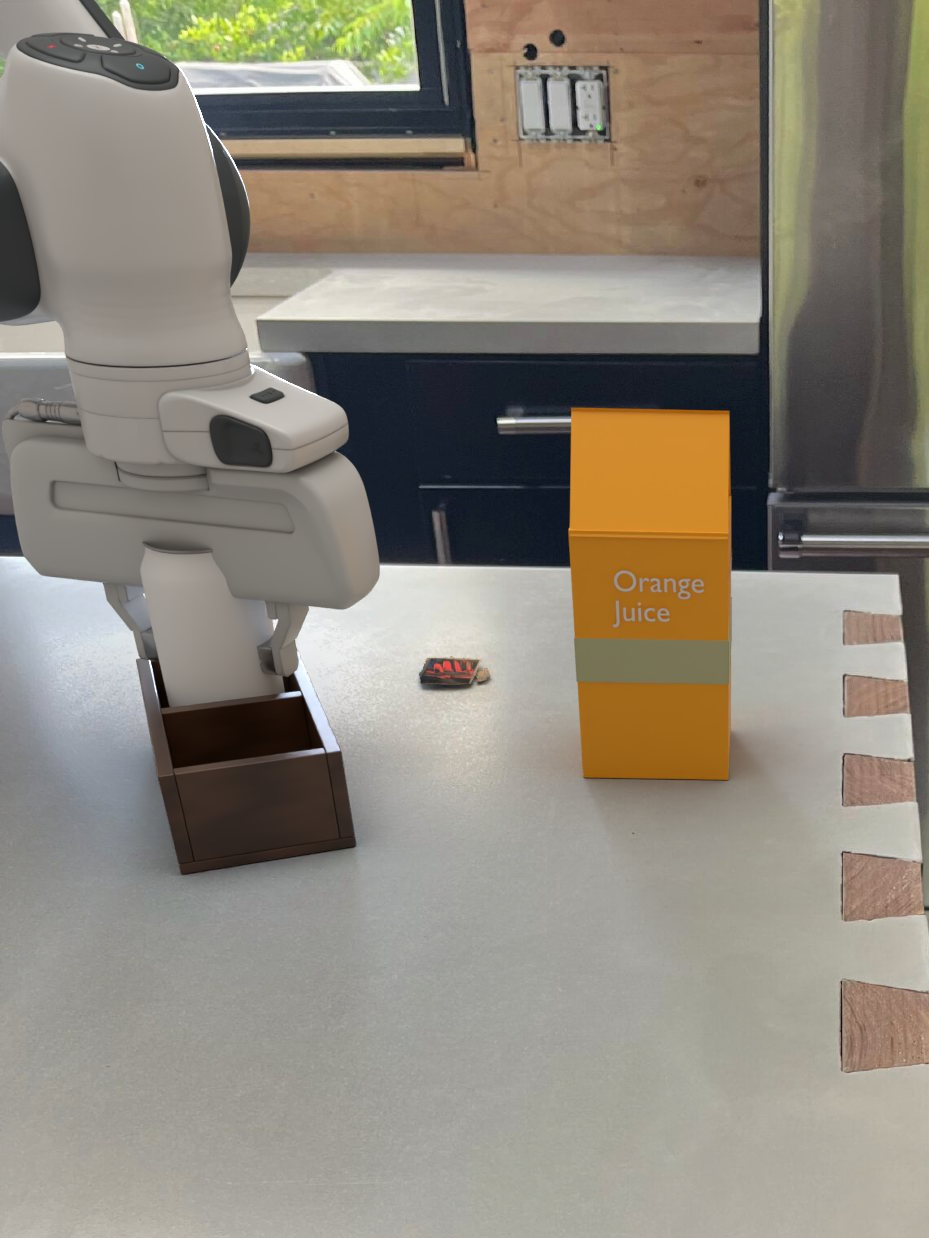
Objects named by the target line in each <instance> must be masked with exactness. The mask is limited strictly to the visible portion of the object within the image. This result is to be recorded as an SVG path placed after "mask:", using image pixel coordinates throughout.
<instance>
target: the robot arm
mask: <svg viewBox="0 0 929 1238" xmlns="http://www.w3.org/2000/svg"><path fill="white" fill-rule="evenodd" d="M0 57H1V58H2V59H3V60H4V62H5V65H4V70H3V73H2V75H1V76H0V326H1V325H2V326H11V327H19V326H30V325H35V324H36V325H37V324H44V323H51V322H56V323H57V324H58V326H59V327H60V328H61V331H62V335H63V344H64V345H63V346H64V356H65V361H66V364H67V365H66V366H67V368H68V373H69V377H70V382H71V386H72V390H73V394H74V395H73V396H74V400H75V401H73V400H72V401H71V400H65V401H64V400H63V401H50V400H46V399H43V398H38V397H26V398H21V399H19V400H18V402H17V405H15V406H13V407H11V408H9V410H8V411H7V412H6V414H5V416H4V419H3V420H2V422H1V435H2V439H3V443H4V447H5V451H6V455H7V458H8V461H9V479H10V490H11V497H12V507H13V514H14V518H15V519H14V520H15V526H16V530H17V536H18V540H19V546H20V549H21V552H22V555H23V557H24V558H25V560H26V561H27V562H28V563H29V564H30V566H31V567H32V568H33V569H34V570H35V571H36V572H37V573H38V575H40V576H43V577H47V578H48V577H49V578H57V579H67V580H74V581H76V580H77V581H82V582H83V581H84V582H91V583H102V584H103V590H104V593H105V597H106V601H107V602H108V604H109V605H110V606H111V608H112V609H113V610H114V611H115V613H116V615H118V617H119V618H120V619H121V620H122V622H123V623H124V624H125V625H126V627H127V628H128V629H129V630H130V632H132V633H133V636H134V642H135V647H136V650H137V654H138V657H139V658H141V659H145V660H156V661H159V658H158V653H157V648H156V644H155V639H154V635H153V630H152V626H151V621H150V617H149V612H148V607H147V603H146V598H145V593H144V589H143V584H142V578H141V572H140V567H141V563H142V560H143V557H144V554H145V546H144V545H143V544H142V542H145V543H146V544H147V545H149V546H152V547H155V548H159V549H164V550H174V551H194V550H206V549H212V550H213V552H211V554H212V557H213V559H214V561H215V563H216V564H217V566H218V567H219V569H220V570H221V572H222V573H223V575H224V577H225V578H226V582H227V586H228V588H229V590H230V592H231V594H232V596H233V597H235V598H241V599H250V600H259V601H265V604H266V610H267V615H268V618H269V619H272V620H275V621H276V620H277V623H276V626H275V627H274V634H273V636H272V637H271V638H270V639H269V640H268V641H266V642H264V643H263V644H261V645H259V646H257V650H258V656H259V659H260V660H261V663H260V666H261V670H262V672H263V673H265V674H269V675H276V676H285V677H288V676H290V675H291V674H292V673H294V672H295V671H296V670H297V669H298V665H299V661H298V654H297V649H298V647H297V642H296V639H298V636H299V635H300V632H301V629H302V627H303V626H304V623H305V622H306V621H305V620H306V618H307V616H308V613H309V611H310V607H313V608H322V609H331V610H341V611H343V610H348V609H349V608H351V607H353V606H355V605H356V604H358V603H359V602H360V601H362V600H363V599H365V598H366V597H368V595H369V594H371V592H372V591H373V590H374V588H375V586H376V585H377V583H378V582H379V579H380V576H381V574H380V573H381V565H380V556H379V555H380V554H379V550H378V549H379V548H378V541H377V536H376V532H375V531H376V530H375V526H374V521H373V517H372V511H371V506H370V503H369V499H368V496H367V495H368V494H367V491H366V488H365V485H364V482H363V479H362V477H361V475H360V473H359V471H358V470H357V468H356V467H355V465H354V464H353V463H352V462H351V461H350V460H349V459H348V458H347V457H346V456H345V455H343V453H341V452H338V451H337V450H338V449H340V448H341V447H342V446H344V445H345V444H346V443H347V442H348V440H349V436H350V429H349V427H350V426H349V421H348V420H349V419H348V416H347V413H346V411H345V410H344V408H343V407H342V406H340V405H339V404H337V403H336V402H334V401H332V400H330V399H328V398H325V397H323V396H321V395H318V394H317V393H314V392H312V391H309V390H306V389H304V388H302V387H300V386H298V385H295V384H293V383H290V382H288V381H286V380H285V379H282V378H280V377H278V376H276V375H274V374H272V373H269V372H268V371H266V370H264V369H263V368H260V367H258V366H256V365H254V364H251V359H250V352H249V348H248V341H247V337H246V334H245V332H244V329H243V327H242V325H241V323H240V321H239V318H238V315H237V313H236V310H235V306H234V303H233V298H232V293H231V288H232V287H233V285H234V284H235V282H236V280H237V279H238V277H239V275H240V272H241V270H242V267H243V265H244V263H245V259H246V256H247V252H248V248H249V243H250V237H251V209H250V202H249V197H248V195H247V191H246V186H245V184H244V181H243V179H242V177H241V174H240V172H239V169H238V168H237V166H236V164H235V161H234V160H233V158H232V157H231V155H230V153H229V151H228V150H227V148H226V147H225V145H224V144H223V143H222V141H221V140H220V139H219V137H218V136H217V135H216V133H215V132H214V131H213V130H212V128H211V127H210V126H209V125H208V124H207V123H206V122H205V120H204V118H203V115H202V112H201V109H200V107H199V104H198V102H197V99H196V97H195V95H194V91H193V89H192V87H191V85H190V83H189V81H188V78H187V77H186V75H185V73H184V72H183V70H182V69H181V68H180V67H179V65H177V64H176V63H175V62H173V61H172V60H170V59H169V58H167V57H166V56H165V55H164V54H163V53H161V52H159V51H157V50H155V49H152V48H150V47H148V46H146V45H142V44H139V43H137V42H133V41H131V40H130V41H129V40H126V39H125V38H124V36H123V34H121V32H120V31H119V29H117V27H116V26H115V24H114V23H113V22H112V21H111V19H110V18H109V17H108V16H107V14H106V13H105V12H104V11H103V9H102V7H100V5H99V4H98V3H97V1H96V0H0ZM18 415H20V417H19V416H18ZM296 647H297V648H296Z"/></svg>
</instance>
